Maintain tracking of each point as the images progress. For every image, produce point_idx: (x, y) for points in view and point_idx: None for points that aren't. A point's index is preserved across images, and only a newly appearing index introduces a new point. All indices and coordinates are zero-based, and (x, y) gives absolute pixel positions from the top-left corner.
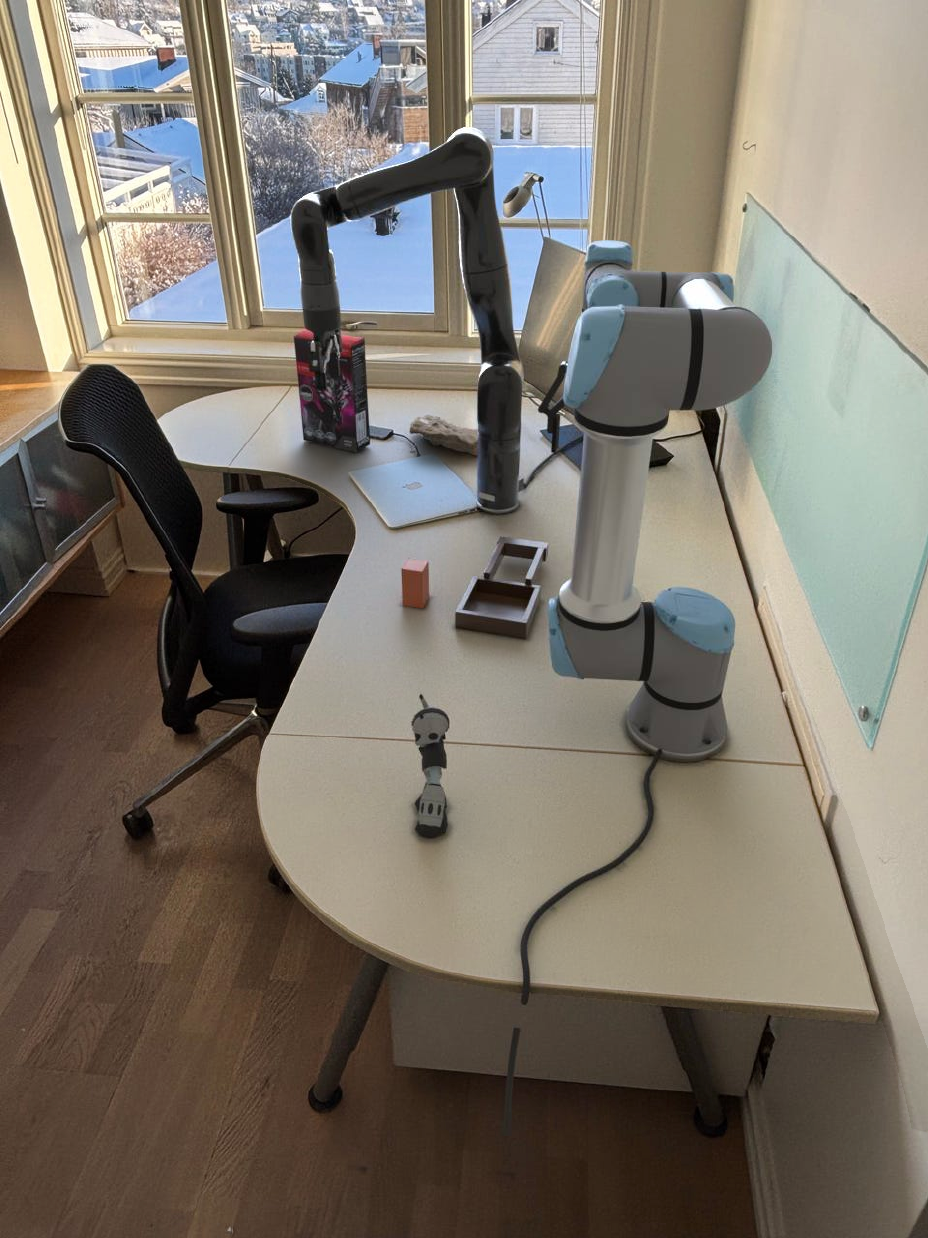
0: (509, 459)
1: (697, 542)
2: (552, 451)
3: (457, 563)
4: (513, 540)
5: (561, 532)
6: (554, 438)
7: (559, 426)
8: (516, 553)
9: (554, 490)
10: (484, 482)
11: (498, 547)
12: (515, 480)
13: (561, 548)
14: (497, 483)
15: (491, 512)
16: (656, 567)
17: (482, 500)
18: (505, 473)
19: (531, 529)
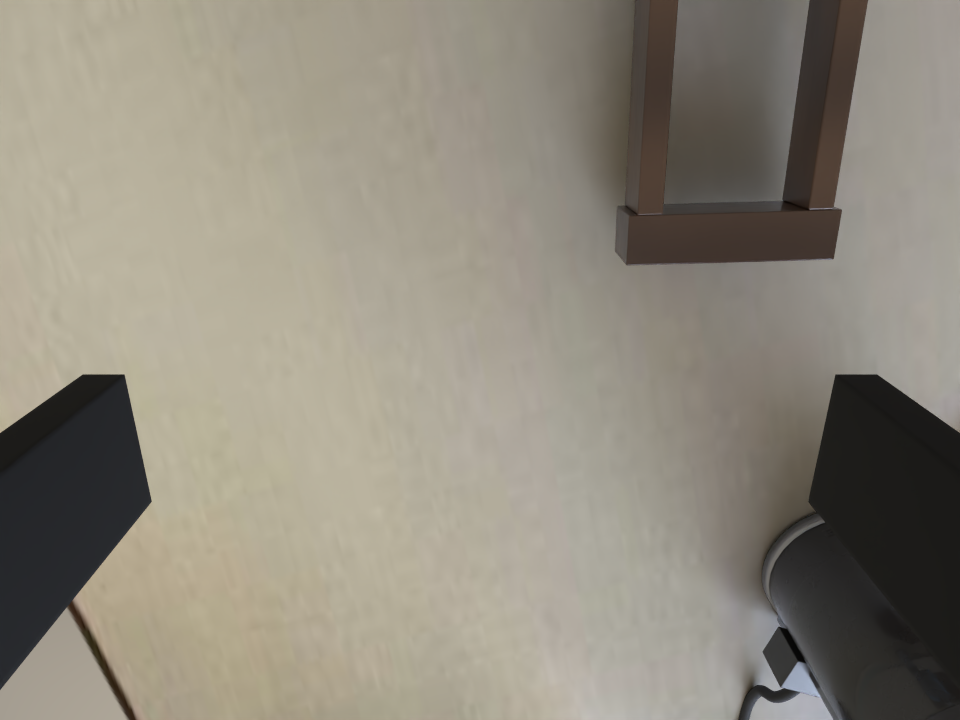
0: (910, 688)
1: (152, 518)
2: (868, 379)
3: (951, 131)
4: (773, 241)
5: (592, 458)
6: (951, 451)
7: (948, 659)
8: (739, 205)
9: (654, 691)
10: None
11: (832, 161)
12: (823, 629)
13: (575, 356)
14: None
15: None
16: (231, 328)
17: None
18: (889, 630)
19: (696, 449)
